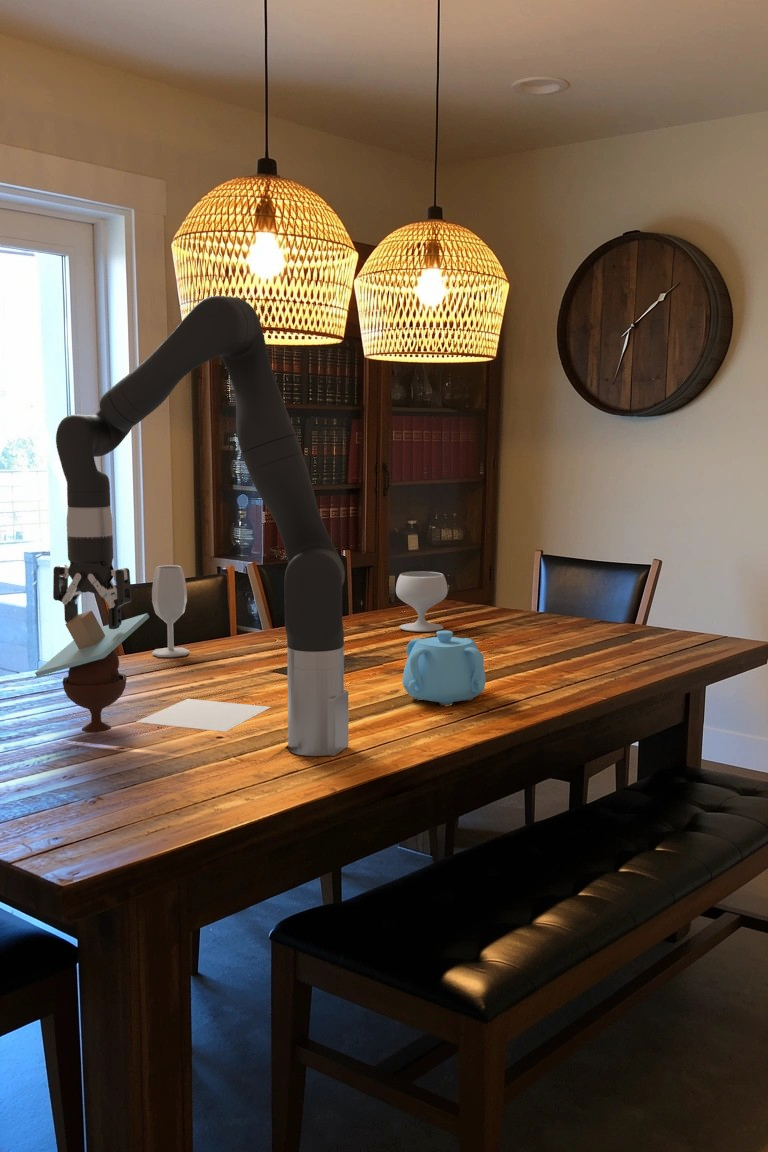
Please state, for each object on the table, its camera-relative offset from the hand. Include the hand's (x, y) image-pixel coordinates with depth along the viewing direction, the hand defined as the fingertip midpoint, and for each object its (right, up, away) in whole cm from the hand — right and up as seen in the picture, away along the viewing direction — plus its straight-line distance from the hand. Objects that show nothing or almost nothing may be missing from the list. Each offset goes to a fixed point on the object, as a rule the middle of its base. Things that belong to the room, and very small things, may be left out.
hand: (93, 627), depth 180 cm
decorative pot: (+62, -16, +27) cm, 69 cm away
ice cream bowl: (0, -19, +2) cm, 19 cm away
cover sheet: (0, -3, 0) cm, 3 cm away
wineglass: (0, -10, +68) cm, 69 cm away
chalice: (+60, -6, +103) cm, 120 cm away
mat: (+17, -17, +12) cm, 27 cm away
